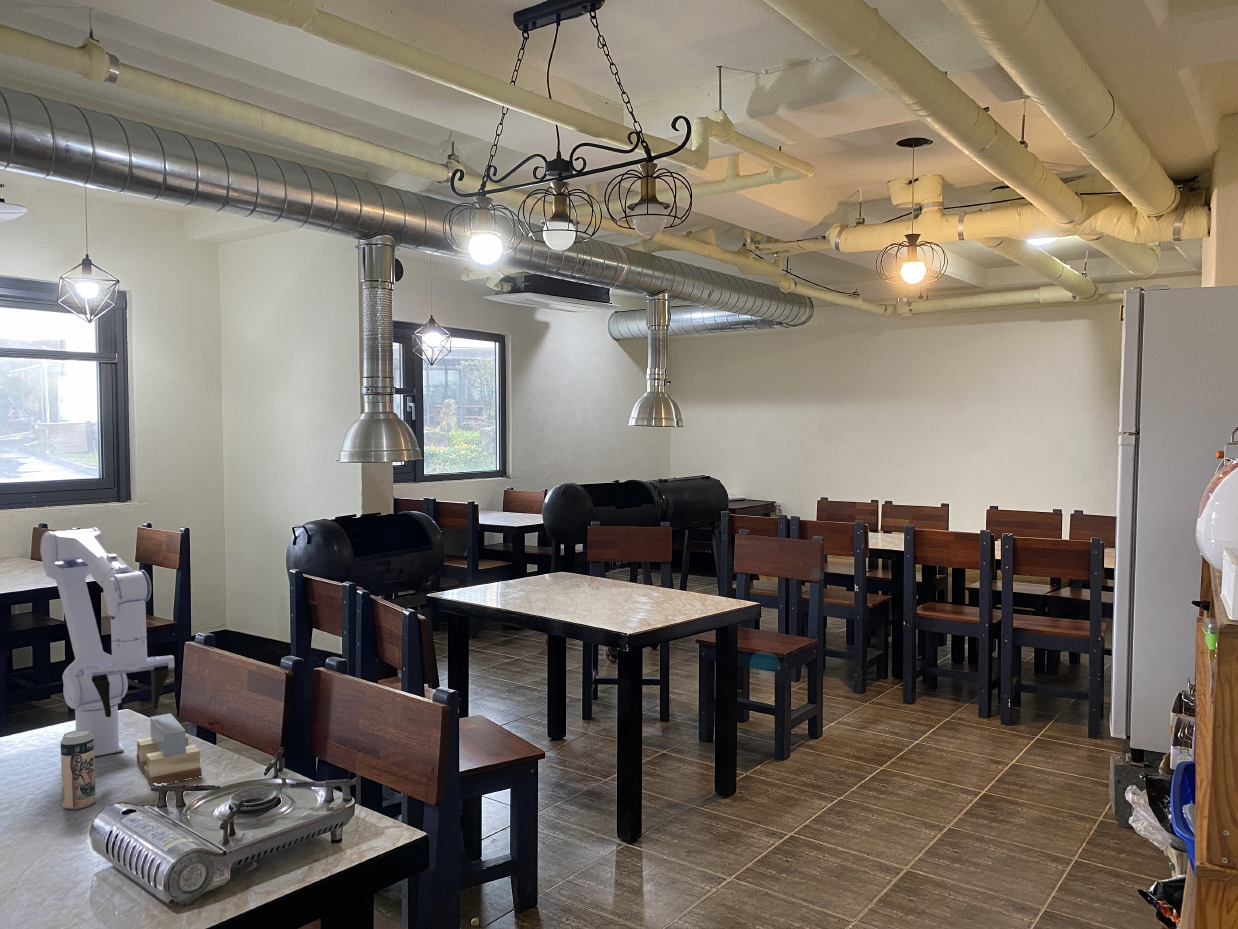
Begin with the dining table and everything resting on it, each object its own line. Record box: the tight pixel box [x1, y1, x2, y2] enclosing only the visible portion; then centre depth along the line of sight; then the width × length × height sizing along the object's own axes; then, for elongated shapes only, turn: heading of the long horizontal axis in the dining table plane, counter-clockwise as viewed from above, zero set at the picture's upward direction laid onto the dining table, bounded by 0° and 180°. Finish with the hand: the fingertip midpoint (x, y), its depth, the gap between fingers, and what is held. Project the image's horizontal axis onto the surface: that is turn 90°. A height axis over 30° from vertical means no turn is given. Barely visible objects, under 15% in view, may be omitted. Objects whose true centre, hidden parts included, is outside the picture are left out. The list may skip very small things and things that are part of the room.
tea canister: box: [59, 729, 97, 811], centre depth 153 cm, size 5×5×12 cm
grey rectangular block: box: [149, 713, 187, 757], centre depth 169 cm, size 13×4×4 cm, turn 36°
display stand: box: [136, 732, 203, 786], centre depth 169 cm, size 16×8×4 cm, turn 36°
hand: (131, 711), depth 170 cm, fingers open, 7 cm apart
